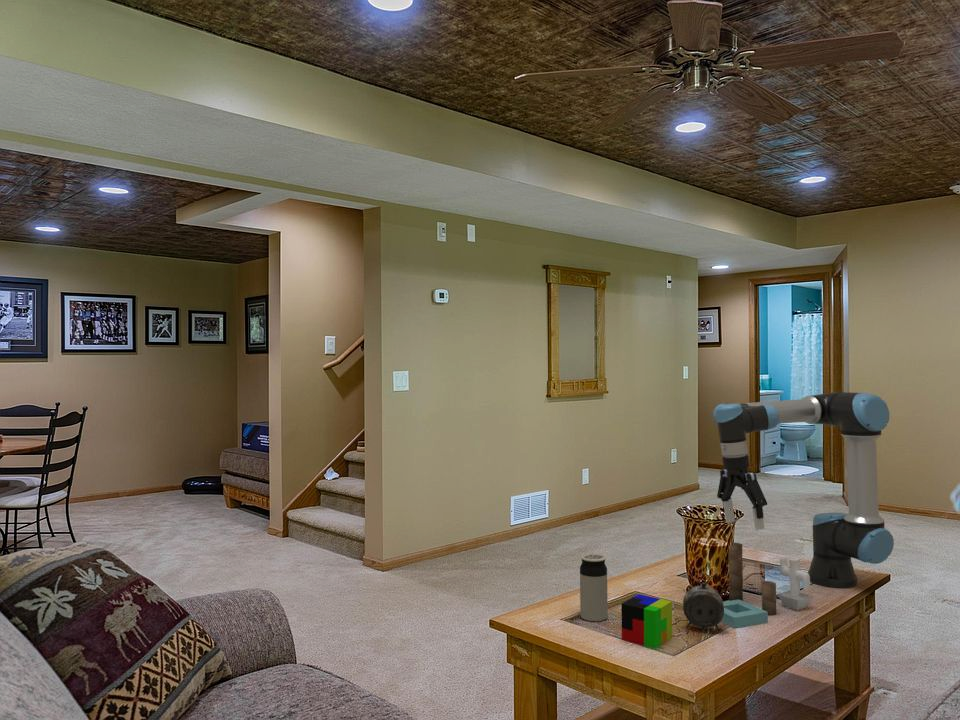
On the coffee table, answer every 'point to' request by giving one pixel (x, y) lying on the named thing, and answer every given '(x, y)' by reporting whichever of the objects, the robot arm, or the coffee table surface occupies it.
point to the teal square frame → (742, 614)
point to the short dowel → (769, 597)
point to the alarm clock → (703, 606)
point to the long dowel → (735, 572)
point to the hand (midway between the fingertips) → (744, 525)
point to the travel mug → (593, 588)
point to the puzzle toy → (646, 621)
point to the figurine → (795, 584)
